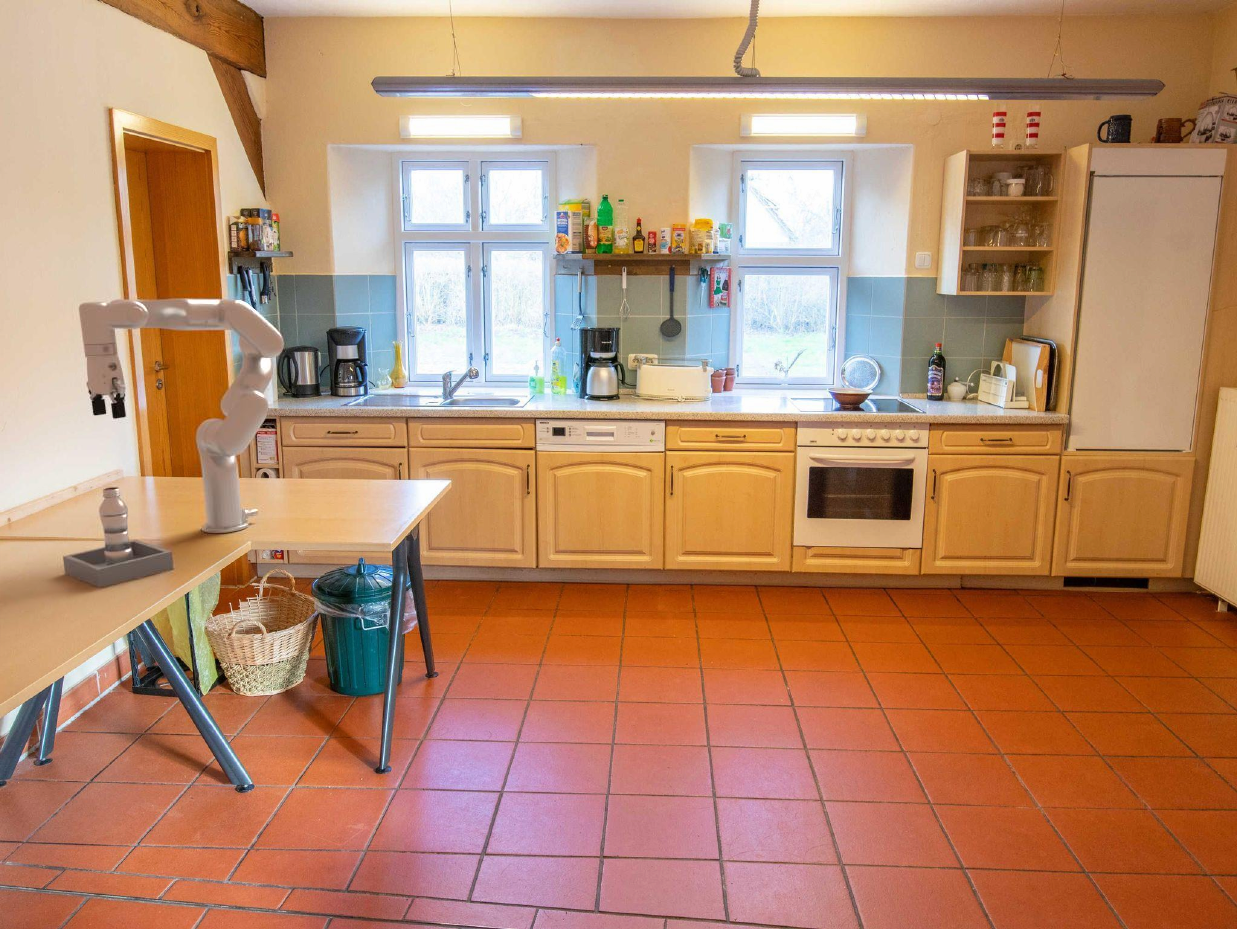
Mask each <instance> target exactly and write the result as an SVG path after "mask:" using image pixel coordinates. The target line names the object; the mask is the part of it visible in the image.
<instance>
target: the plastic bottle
mask: <svg viewBox="0 0 1237 929" xmlns="http://www.w3.org/2000/svg"><path fill="white" fill-rule="evenodd" d="M120 496H121V492H120V487H118V486H110V487H109V486H108V487H105V488H103V489H102V498H104V499H103V500H102V502H101V504H100V505H99V508H98V514H99V517H100V521H101V525H102V530H103V536H104V547H105V553H104V560H105V563H106V565H107V566H109V565H113V564H117V563H121V562H126V561H130V560H133V552H132V549H131V547H130V542H129V541H130V537H129V530H128V516H129V514H128V513H129V509H128V506H127V504H126V502H125V501H124V500H123V499H122V498H121V497H120Z"/></svg>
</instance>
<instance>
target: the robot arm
mask: <svg viewBox="0 0 1237 929" xmlns="http://www.w3.org/2000/svg"><path fill="white" fill-rule="evenodd" d="M78 313H79V322H80V327H81V328H80V329H81V335H82V336H81V337H82V343H83V351H84V357H85V358H86V372H87V374H86V375H87V381H86V386H87V389H88V394H89V395H90V396H89V399H90V401H91V407H92V414H93V415H92V416H102V415H106V414H107V407H106V399H105V398H104V396H108V397H109V398H110V401H111V402H110V407H111V415H112V419H115V420H116V419H121V418H126V417H127V414H126V406H125V402H126V399H125V397H126V385H125V379H124V374H123V373H124V372H123V369H122V368H123V367H122V364H121V362H120V358H119V353H118V346H117V345H118V344H117V337H116V336H117V335H116V329H121V330H123V329H124V330H137V329H140V328H150V329H151V328H156V329H158V328H159V329H168V330H174V331H234V332H235V333H236V334H237V335H238V336H239V337H238V344H239V345H238V347H239V348H240V351H241V354H242V358H243V359H242V366H241V368H240V370H239V372H238V374H237V376H236V377H235V379H234V380H233V381H232V383H231V385H230V386H229V387H228V389H227V390H226V392H225V393H224V395H223V396H222V398H221V401H220V410H221V412H222V413H223V415H224V416H226V417H225V419H221V418H210V419H209V418H208V419H207V420H204V421H203V422H202V423H200V425H199V426H198V428H197V430H196V434H195V441H196V445H197V446H196V447H197V450H198V454H199V458H200V465H201V466H200V467H201V473H202V483H203V484H202V486H203V495H204V496H203V497H204V505H205V506H204V507H205V516H206V522H205V523H203V524H202V525H201V531H202V532H204V533H208V534H224V533H225V534H226V533H232V532H233V533H234V532H237V531H238V532H239V531H241V530H245V529H247V528H248V527H249V526H250V523H249V520H248V519H249V518H250V517H255V516H258V515H259V512H258V511H259V510H257V509H256V508H253V509H242V498H241V490H240V489H241V488H240V477H239V465H238V464H239V463H238V460H237V459H238V458H237V456H238V455H241V454H242V453H243V452H244V451H245V450H246V449H247V448H248V446H250V443H251V442H252V440H253V438H254V437H255V436H256V434H257V433H258V431H259V430H260V427H261V426H262V425H263V423H264V421H265V420H266V418H267V415H268V413H269V401H268V399H267V398H266V396H265V395H264V393H265V392H266V390H267V387H268V386H269V384H270V382H271V381H272V378H273V375H274V374H273V373H274V372H273V371H274V362H273V359H274V358H276V357H278V356H279V355H281V353H282V352H283V351H284V350H283V349H284V347H285V341H284V338H283V335H282V334H281V333H280V332H279V331H278V329H277V328H276V327H274V326H273V324H271V323H270V322H269V321H268V320H267V319H266V318H264V317H263V316H262V315H261V314H260V313H259V312H258V311H257V310H256V309H254V308H253V307H252V306H251V305H250V304H248V303H247V302H245V301H243V300H241V299H227V298H226V299H223V298H166V299H125V298H124V299H121V298H118V299H113V300H112V301H110V302H106V301H88V302H82V303H81V304H80V305H79V306H78Z"/></svg>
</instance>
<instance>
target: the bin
mask: <svg viewBox="0 0 1237 929" xmlns="http://www.w3.org/2000/svg"><path fill="white" fill-rule="evenodd" d="M129 542H130V547H131V549H132V552H133V560H130V561H126V562H121V563H117V564H113V565H109V566H107V565H106V563H105V560H104V553H105V546H103V547H98V548H94V549H89V550H85V551H81V552H76V553H72V554H67V555H64V556H62V561H63V567H64V574H65V575H67V576H69V577H72V578H74V577H75V578H74V579H77V580H79V581H81V580H82V582H83V583H86V582H87V583H86V584H89V583H90V584H89V585H92V586H93V585H94V587H96V588H99V589H102V588H106V587H110V586H112V585H117V584H116V583H118V584H121V582H122V583H124V582H125V583H126V582H130V581H132V580H136V579H140V578H139V577H141V578H144V576H145V577H148V575H149V576H152V575H156V574H159V573H158V572H160V573H163V572H162V571H164V572H167V570H168V571H171V570H170V569H172V570H174V569H175V568H174V560H173V551H171V550H167V549H166V548H161V547H159V546H157V545H153V544H150V543H147V542H145V541H144V542H143V541H140V540H137V539H133V540H129ZM155 573H156V574H155ZM151 574H152V575H151Z"/></svg>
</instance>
